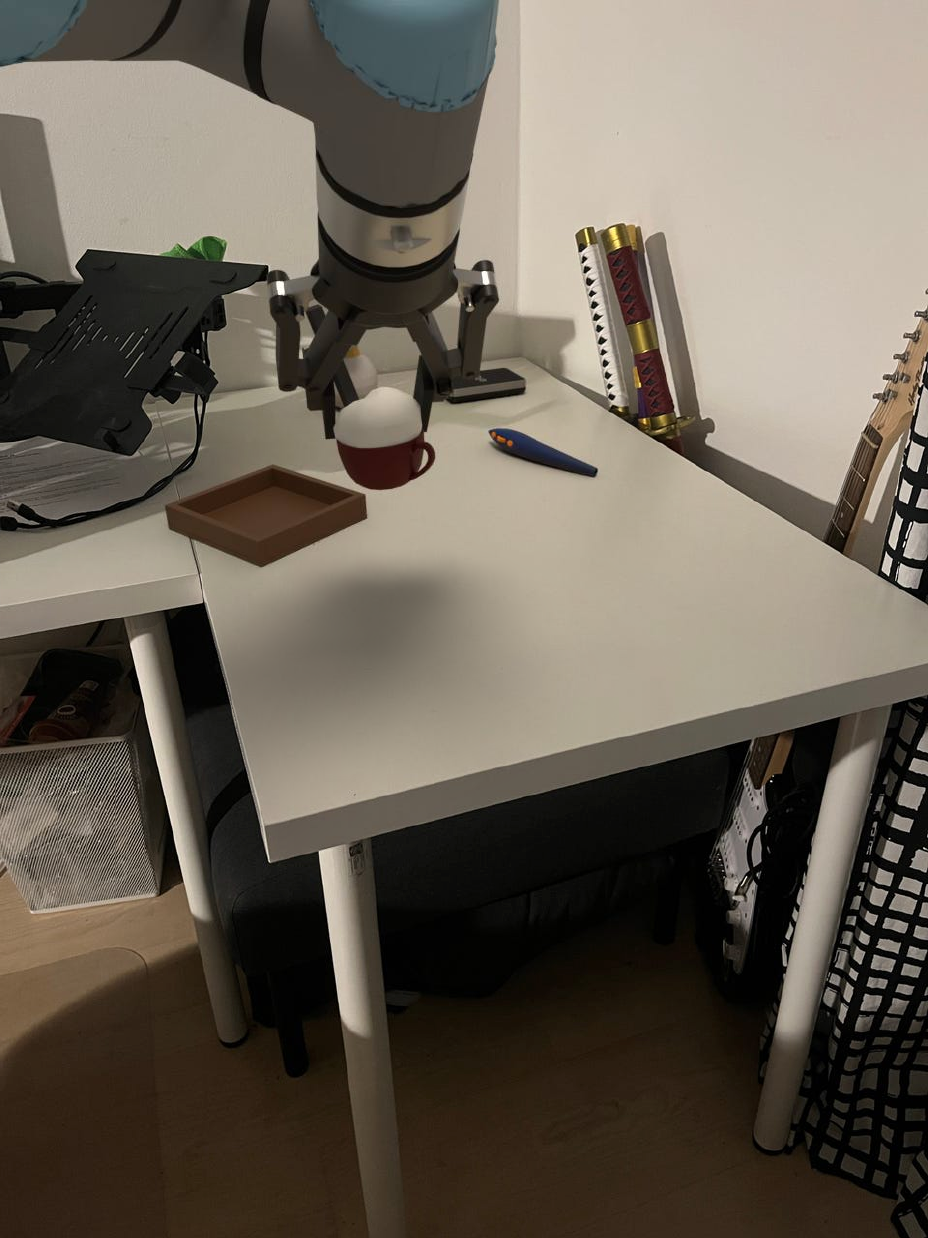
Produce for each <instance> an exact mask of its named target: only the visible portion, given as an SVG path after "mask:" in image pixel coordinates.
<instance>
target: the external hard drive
mask: <svg viewBox="0 0 928 1238" xmlns="http://www.w3.org/2000/svg"><path fill="white" fill-rule="evenodd" d="M452 382H453V389H454V392H453V393H452V394H450V395H448V396H447V397H446V399H447V400H449V401H450V402H451V403H462V402H469V401H475V400H482V399H490V398H499V397H503V396H511V395H518V394H523V393H525V392H526V390H527V378H526V377H524V376H522V375H520V374H518V373H517V372H515V371H513V370H512V369H510V368H508V367H497V368H495V367H494V368H488V369H480V374H479V376H478V377H477V378H475V379H471V380H466V379H463V378H462V375H460V376H457V377H454V378H453V379H452Z"/></svg>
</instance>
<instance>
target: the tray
mask: <svg viewBox="0 0 928 1238" xmlns="http://www.w3.org/2000/svg"><path fill="white" fill-rule="evenodd" d="M164 509H165V514H166V520H167V526H168V529H169V530H171V531H174V532H176V533H178V534H181V535H183V536H185V537H188V538H191V539H192V540H195V541H197V542H200V543H202V544H205V545H207V546H210V547H212V548H215V549H217V550H219V551H222V552H223V553H226V554H229V555H231V556H234V557H236V558H239V559H241V560H243V561H246V562H248V563H250V564H252V565H255V566H258V567H260V568H262V567H264V566H267V565H269V564H270V563H271V564H272V563H274V562H275V561H277V560H279V559H282V558H283V557H286V556H288V555H290V554H292V553H294V552H297V551H299V550H302V549H303V548H305V547H307V546H310V545H311V544H314V543H316V542H319V541H320V540H322V539H325V538H327V537H329V536H331V535H333V534H335V533H337V532H340V531H342V530H344V529H346V528H348V527H351V526H352V525H355V524H357V523H359V522H361V521H363V520H365V519H367V518H368V510H367V495H366V493H362V492H360V491H358V490H357V491H356V490H353V489H350V488H347V487H344V486H341V485H339V484H335V483H332V482H329V481H326V480H323V479H319V478H316V477H313V476H310V475H307V474H303V473H301V472H299V471H295V470H292V469H288V468H286V467H282V466H279V465H276V464H270V465H267V466H265V467H263V468H260V469H257V470H254V471H252V472H249V473H247V474H244V475H241V476H239V477H235V478H233V479H230V480H228V481H225V482H223V483H220V484H217V485H215V486H211V487H210V488H209V487H208V488H207V489H204V490H201V491H199V492H196V493H193V494H191V495H188V496H186V497H183V498H180V499H178V500H174V501H173V502H169V503H166V504H165V505H164Z"/></svg>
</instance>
